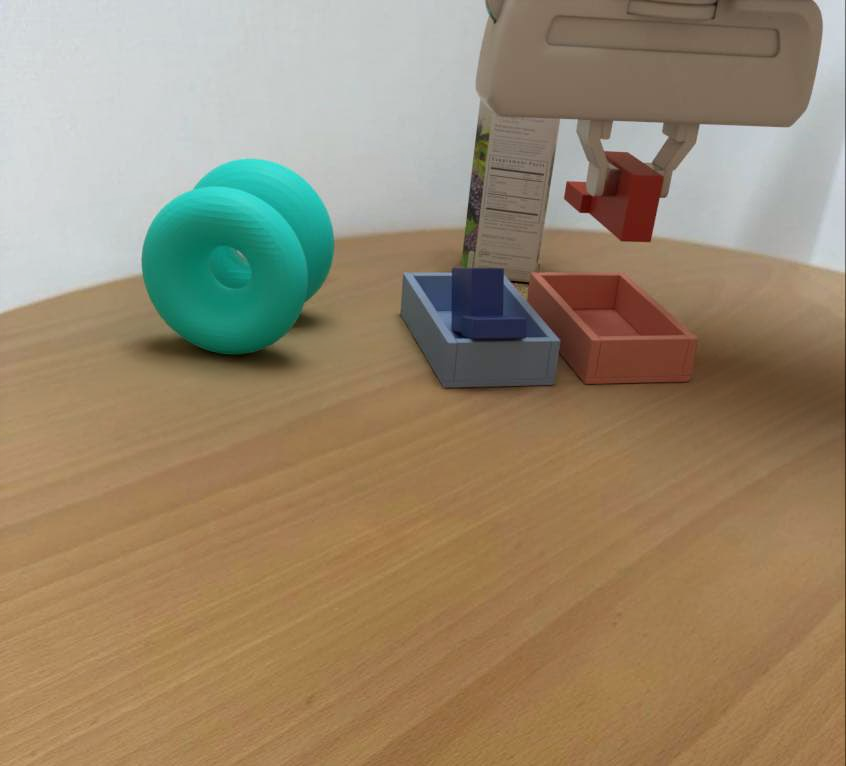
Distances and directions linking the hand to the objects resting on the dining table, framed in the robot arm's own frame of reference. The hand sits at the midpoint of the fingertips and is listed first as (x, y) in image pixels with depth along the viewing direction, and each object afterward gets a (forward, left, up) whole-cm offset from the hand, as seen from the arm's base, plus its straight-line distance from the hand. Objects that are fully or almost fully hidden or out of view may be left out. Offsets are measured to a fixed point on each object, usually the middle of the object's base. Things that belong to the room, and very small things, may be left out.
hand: (626, 195), depth 71 cm
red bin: (0, 0, -10) cm, 10 cm away
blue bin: (+9, 0, -10) cm, 13 cm away
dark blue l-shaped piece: (+9, +2, -8) cm, 12 cm away
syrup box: (+2, -15, -10) cm, 18 cm away
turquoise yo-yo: (+23, -3, -10) cm, 26 cm away
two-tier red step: (0, -2, -2) cm, 3 cm away
